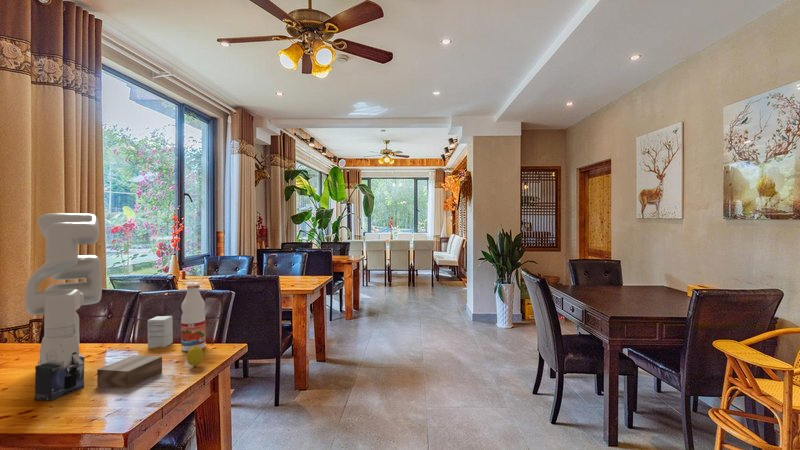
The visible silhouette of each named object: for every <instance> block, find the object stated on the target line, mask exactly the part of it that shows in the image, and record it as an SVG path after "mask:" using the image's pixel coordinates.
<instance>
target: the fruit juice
mask: <svg viewBox="0 0 800 450" xmlns="http://www.w3.org/2000/svg"><path fill="white" fill-rule="evenodd" d="M200 288H201V287H200V284H194V283H193V284H188V285H187V286H186V289H187V291H186V294H185V297H184V299H183V301H182V302H181V311H182V314H181V318H180V338H181V339H180V346H181V347H180V348H181V351H183V352H188V351H189V350H190V349H191V348H193V347H194V346H197V347H200V348H201V349H202V350H203V349H204V348H205V347H206V312H205V311H204V310H205V307H206V302H205V300H204V299H203V296H202V295H201V292H200Z"/></svg>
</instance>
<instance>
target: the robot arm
mask: <svg viewBox="0 0 800 450" xmlns="http://www.w3.org/2000/svg"><path fill="white" fill-rule="evenodd" d="M37 221H38V222H37V224H38V228H39V231H40V232H41V234H42V236H43V237H44V239H45V255H44V258H45V262H44V263H43V264H42V265H41V266H40V267H38V268H37V269H36V270H35V271H34V272H33V273H32V274H31V275H30V277H29V278H28V280H27V282H26V285H25V297H24V300H25V301H24V308H25V311H26V313H28V314H29V315H32V316H37V315H38V316H39V315H43V317H44V323H43V324H44V325H43V326H44V327H43V328H44V330H43V331H44V336H43V337H42V340H41V343H40V348H39V349H40V350H39V358H38V359H39V361H37V364H38V365H41V364H53V365H59V369H64V370H65V373H66V377H65V389H69V388H71V387H74V386H76V374H77V373H78V371H79V370H80V368H81V367H82V366H83V364H84V365H85V362H84V363H83V362H82V360H81V359H80V358H79V356H81V357H85V355H83V354H80V315H79V314H78V313H77V310H79V309H80V308H81V306H87V305H94V304H98V303H99V302H100V301H101V300H102V295H103V293H102V291H103V285H102V284H103V283H102V281H103V280H102V279H103V278H102V277H103V274H102V271H103V270H102V261H101V259H100V257H99V256H97V255H94V254H86V255H85V254H84V255H83V254H82V255H79V250H78V248H79V247H78V246H80V245H94V244H96V243H97V242H98V241H99V237H100V225H99V224H100V223H99V218H98V217H97V215H96V214H93V213H74V212H73V213H71V212H67V213H66V212H64V213H63V212H54V213H53V212H51V213H44V214H41V215H40V216H39V217H38V218H37ZM49 277H50V278H51V279H52V280H56V281H62V280H63V281H65V280H66V281H67V280H80V279H84V280H85V279H86V281H78V282H77V281H74V282H73V281H72V282H71V281H70V282H64V283H63V282H61V283H54V284H52V285H51V284H50V285H49V286H47V287H46V288H45V290H44V291H43V290H42V291H38V288H39V285H40V283H42V282H43V281H44V280H45V279H48V278H49ZM70 363H72V365H70ZM38 365H37V366H38ZM69 365H70V366H69ZM70 367H72V370H71V371H70V370H69V368H70Z"/></svg>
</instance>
